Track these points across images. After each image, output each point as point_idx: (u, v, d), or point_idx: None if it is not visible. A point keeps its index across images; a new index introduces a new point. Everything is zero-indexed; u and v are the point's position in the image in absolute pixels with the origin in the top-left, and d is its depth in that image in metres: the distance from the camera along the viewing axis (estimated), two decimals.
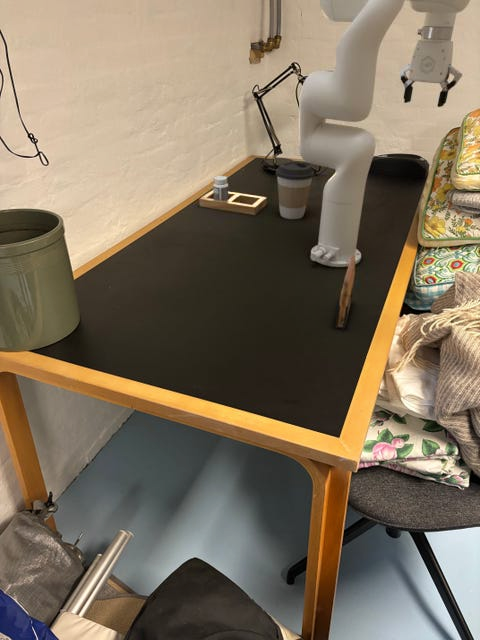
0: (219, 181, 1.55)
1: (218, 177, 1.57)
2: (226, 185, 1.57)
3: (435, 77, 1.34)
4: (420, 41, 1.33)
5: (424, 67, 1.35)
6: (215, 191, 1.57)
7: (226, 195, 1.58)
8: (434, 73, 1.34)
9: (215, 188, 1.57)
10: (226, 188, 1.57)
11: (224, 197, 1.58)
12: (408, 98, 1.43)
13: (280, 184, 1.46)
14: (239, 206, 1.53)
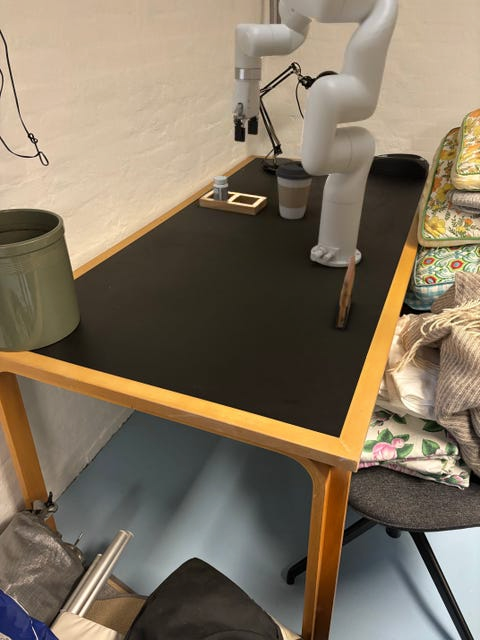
0: (219, 181, 1.55)
1: (218, 177, 1.57)
2: (226, 185, 1.57)
3: None
4: None
5: None
6: (215, 191, 1.57)
7: (226, 195, 1.58)
8: None
9: (215, 188, 1.57)
10: (226, 188, 1.57)
11: (224, 197, 1.58)
12: (250, 130, 1.53)
13: (280, 184, 1.46)
14: (239, 206, 1.53)
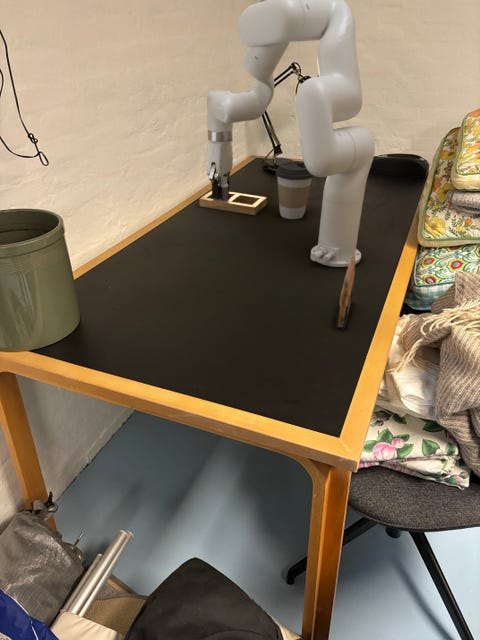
0: None
1: None
2: (226, 185, 1.57)
3: None
4: None
5: None
6: None
7: (226, 195, 1.58)
8: None
9: None
10: (226, 188, 1.57)
11: (224, 197, 1.58)
12: None
13: (280, 184, 1.46)
14: (239, 206, 1.53)
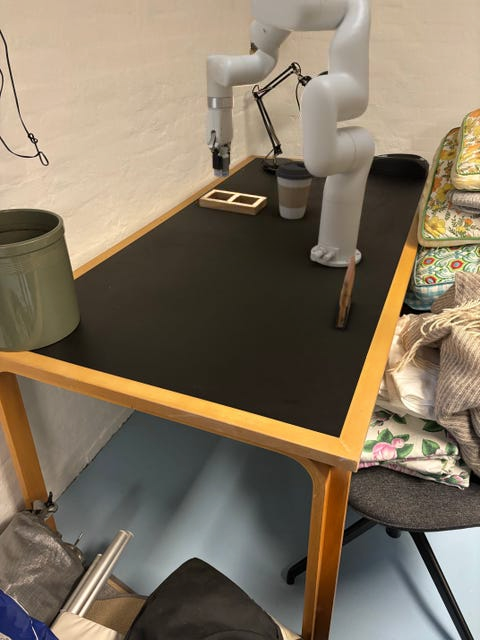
0: None
1: (218, 147, 1.52)
2: (227, 155, 1.51)
3: None
4: None
5: None
6: None
7: (227, 166, 1.53)
8: None
9: None
10: (227, 159, 1.52)
11: (225, 168, 1.53)
12: None
13: (280, 184, 1.46)
14: (239, 206, 1.53)
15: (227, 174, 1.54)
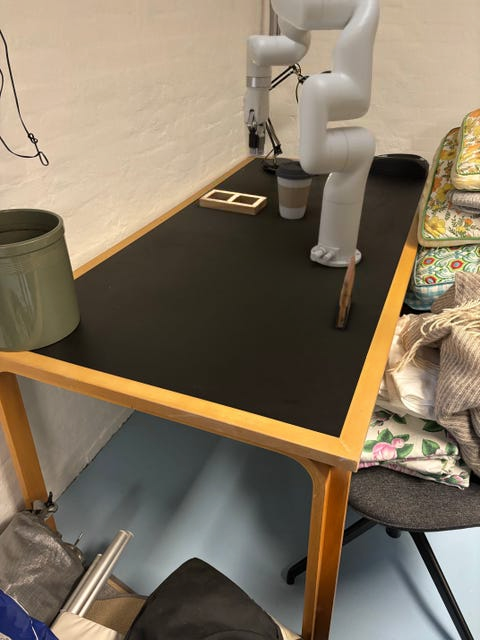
0: None
1: (254, 126, 1.56)
2: (263, 134, 1.56)
3: None
4: None
5: None
6: None
7: (262, 145, 1.57)
8: None
9: None
10: (263, 137, 1.56)
11: (260, 147, 1.57)
12: None
13: (280, 184, 1.46)
14: (239, 206, 1.53)
15: (262, 153, 1.59)
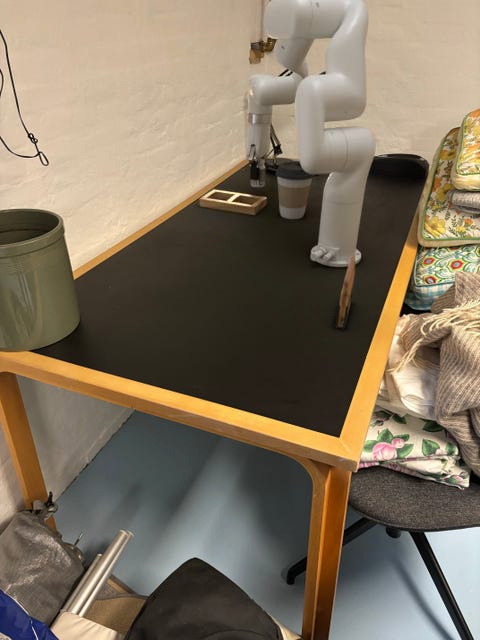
0: None
1: (256, 159, 1.62)
2: (264, 167, 1.62)
3: None
4: None
5: None
6: None
7: (263, 177, 1.63)
8: None
9: None
10: (263, 170, 1.62)
11: (261, 179, 1.63)
12: None
13: (280, 184, 1.46)
14: (239, 206, 1.53)
15: (263, 184, 1.65)
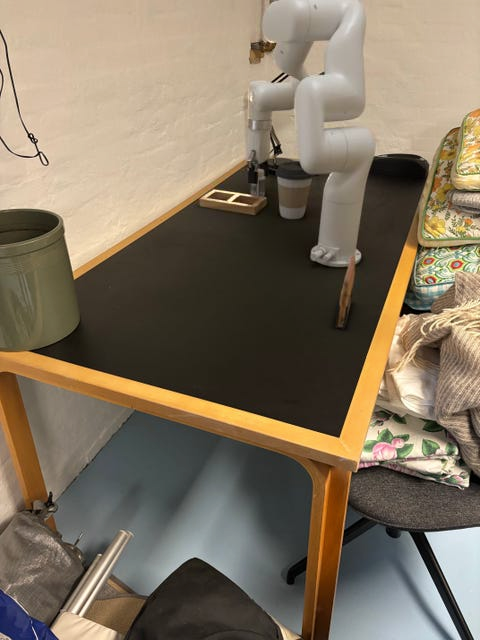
0: None
1: None
2: (263, 177, 1.64)
3: None
4: None
5: None
6: None
7: (263, 187, 1.65)
8: None
9: None
10: (263, 180, 1.64)
11: (261, 189, 1.65)
12: None
13: (280, 184, 1.46)
14: (239, 206, 1.53)
15: (263, 194, 1.66)
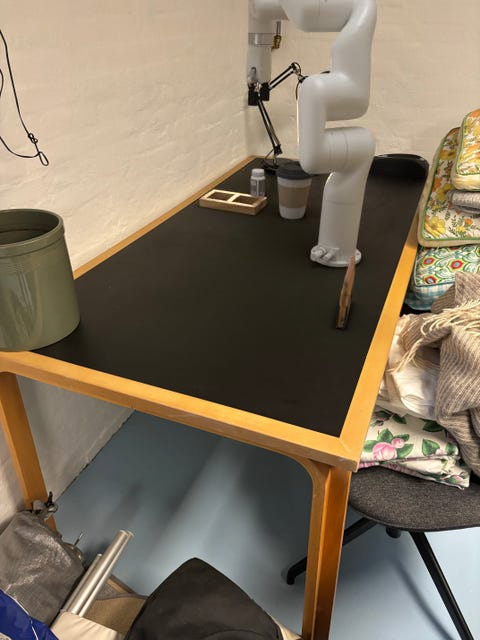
0: (257, 174, 1.62)
1: (255, 170, 1.64)
2: (263, 177, 1.64)
3: None
4: None
5: None
6: (253, 183, 1.64)
7: (263, 187, 1.65)
8: None
9: (253, 180, 1.64)
10: (263, 180, 1.64)
11: (261, 189, 1.65)
12: (262, 97, 1.58)
13: (280, 184, 1.46)
14: (239, 206, 1.53)
15: (263, 194, 1.66)
